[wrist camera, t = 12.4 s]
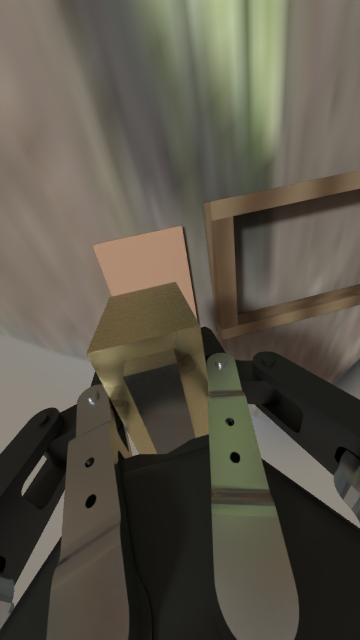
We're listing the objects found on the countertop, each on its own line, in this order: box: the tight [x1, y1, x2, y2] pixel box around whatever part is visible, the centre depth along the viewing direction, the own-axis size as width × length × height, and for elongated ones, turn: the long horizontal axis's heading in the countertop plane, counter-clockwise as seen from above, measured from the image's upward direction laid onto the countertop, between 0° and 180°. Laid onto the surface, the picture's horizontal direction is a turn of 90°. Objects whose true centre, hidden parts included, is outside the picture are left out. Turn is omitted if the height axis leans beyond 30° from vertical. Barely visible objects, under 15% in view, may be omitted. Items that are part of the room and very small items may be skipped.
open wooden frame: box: [203, 170, 360, 340], centre depth 22 cm, size 24×15×2 cm, turn 101°
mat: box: [93, 226, 197, 319], centre depth 22 cm, size 9×12×1 cm
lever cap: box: [86, 282, 209, 454], centre depth 10 cm, size 4×7×6 cm, turn 11°
